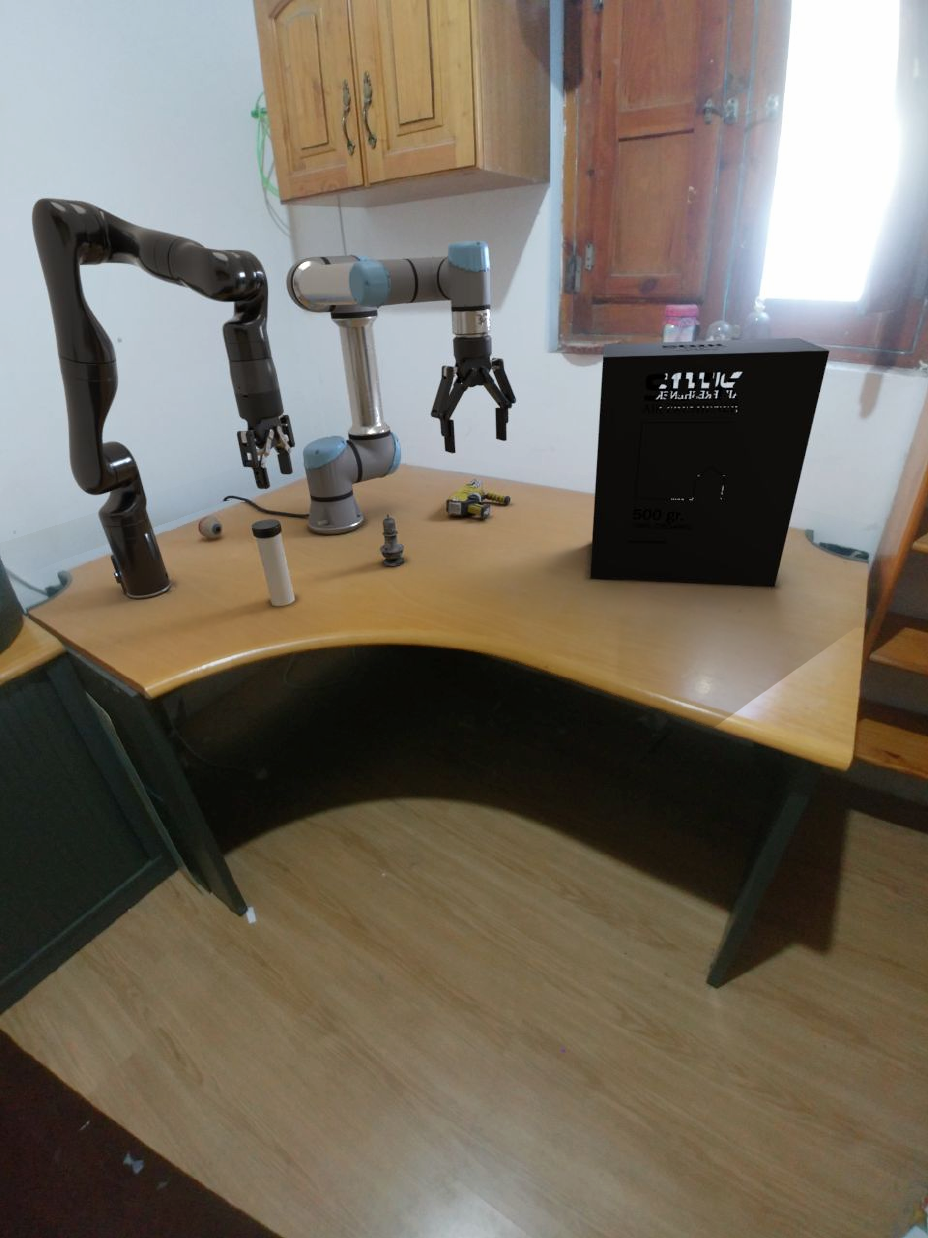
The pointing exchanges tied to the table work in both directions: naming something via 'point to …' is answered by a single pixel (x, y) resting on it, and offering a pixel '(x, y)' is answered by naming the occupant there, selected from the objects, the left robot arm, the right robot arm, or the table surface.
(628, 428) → the cardboard box
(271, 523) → the lid
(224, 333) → the left robot arm
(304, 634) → the table surface
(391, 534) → the grey stepped tapered figure
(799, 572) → the table surface
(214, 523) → the eyeball
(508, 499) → the toy gun
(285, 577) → the jar
